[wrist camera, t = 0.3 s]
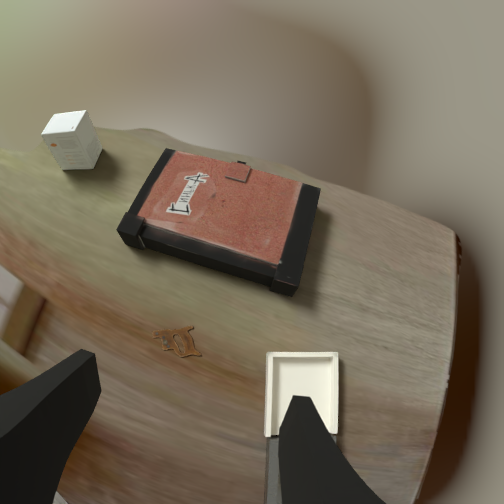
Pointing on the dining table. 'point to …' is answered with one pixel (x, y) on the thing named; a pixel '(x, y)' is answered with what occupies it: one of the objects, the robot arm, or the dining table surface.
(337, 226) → the dining table surface
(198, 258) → the book
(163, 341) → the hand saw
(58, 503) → the ink box
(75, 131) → the small box
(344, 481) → the robot arm
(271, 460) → the rail
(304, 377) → the tray
